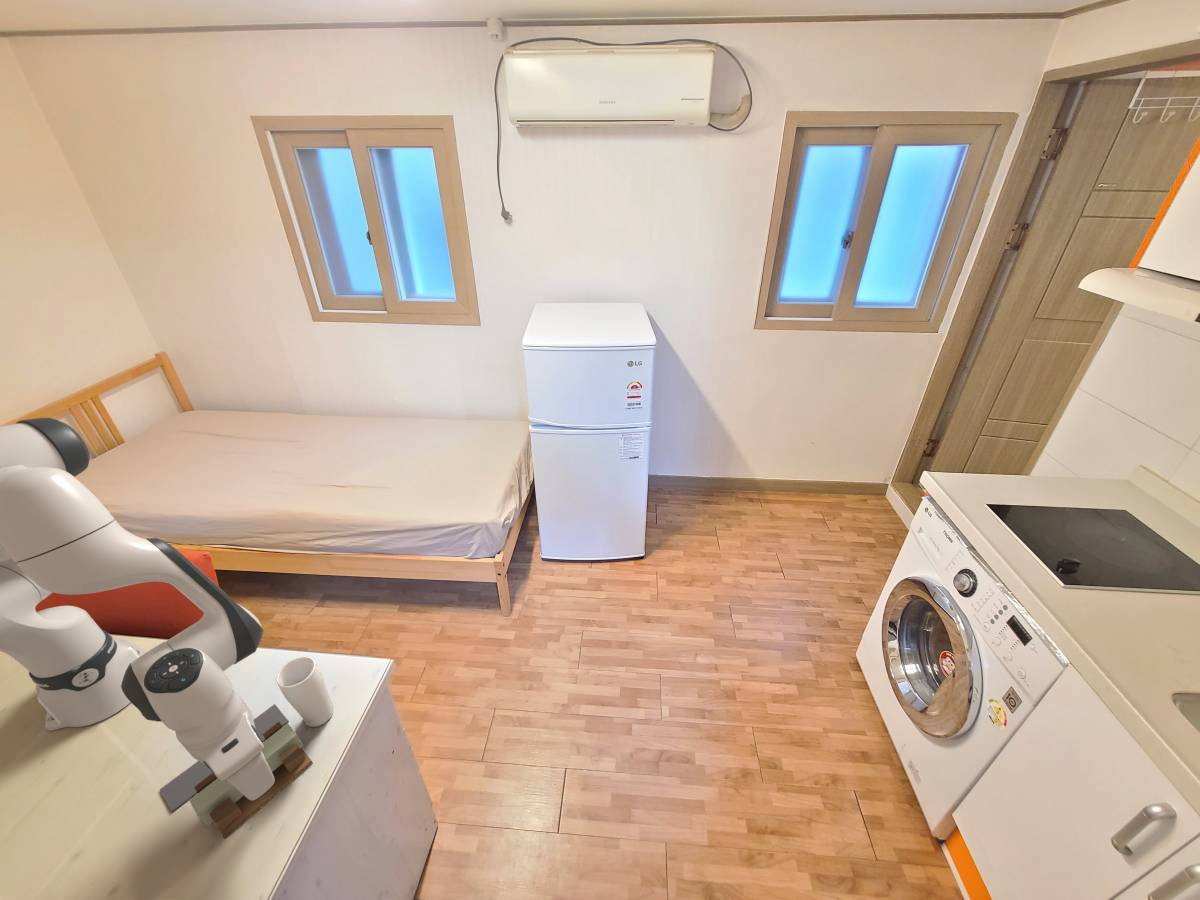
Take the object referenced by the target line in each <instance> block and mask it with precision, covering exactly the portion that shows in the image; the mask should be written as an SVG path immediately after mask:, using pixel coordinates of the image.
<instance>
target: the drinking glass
mask: <svg viewBox="0 0 1200 900" xmlns="http://www.w3.org/2000/svg"><path fill="white" fill-rule="evenodd" d="M276 685H277V686H278V688H279V690H280V692H281V693H282V695H283V696H284V698H285V699H286V701H288V703H289V704H290V705H291V707H293V709H295V711H296V712H297V713H298V714H299V716H300V717H301V719H302V720H303V721H304V722H305V724H306V725H307V726H309V727H311V728H317V727H320V726H322V725H324V724H325V723H326V722H328V721H329V720H330V718H331V717H332V715H333V714H334V704H333V703H332V701H331V698H330V695H329V692H328V689H327V686H326V683H325V681H324V678H323V674H322V672H321V670H320V668H319V666H318V664H317V663H316V661H315V660H314V658H312V657H310V656H300V657H296V658H294V659H292V660H290V661H288V662H287V663H286V664H284V665H283V666H282V667H281V669H280V670H279V671H278V673H277V676H276Z"/></svg>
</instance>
